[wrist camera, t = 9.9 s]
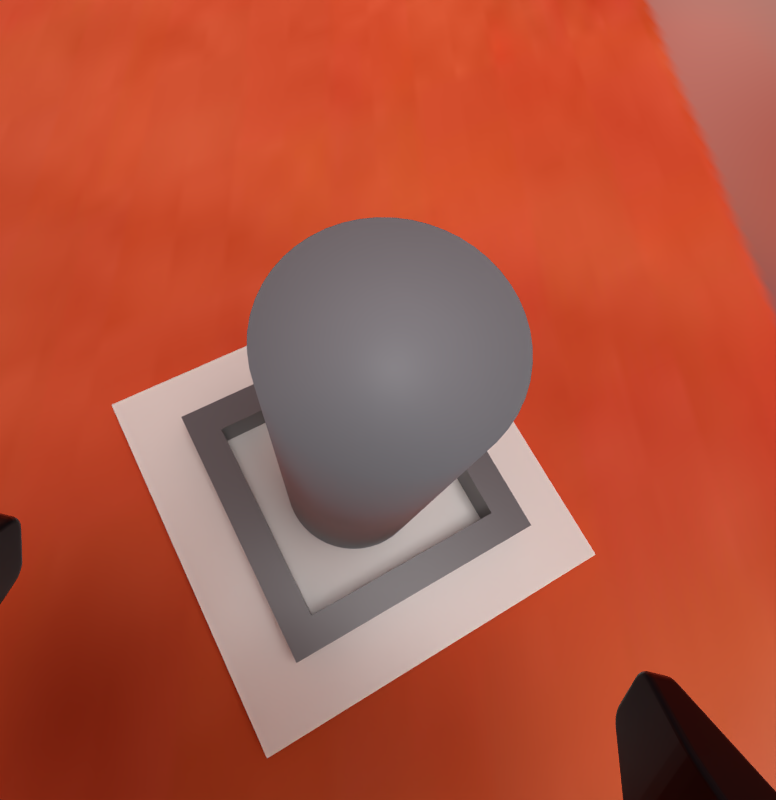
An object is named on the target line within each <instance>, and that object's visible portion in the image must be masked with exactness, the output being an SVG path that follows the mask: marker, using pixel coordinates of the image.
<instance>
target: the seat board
mask: <svg viewBox="0 0 776 800" xmlns="http://www.w3.org/2000/svg"><path fill="white" fill-rule="evenodd" d="M112 407H113V409H114V412H115V414H116V416H117V418H118V421H119V423H120V425H121V428H122V430H123V432H124V434H125V437H126V439H127V441H128V443H129V446H130V448H131V450H132V453H133V455H134V457H135V459H136V462H137V464H138V466H139V468H140V471H141V473H142V475H143V478H144V480H145V482H146V484H147V487H148V489H149V491H150V494H151V496H152V498H153V500H154V503H155V505H156V507H157V509H158V512H159V514H160V516H161V519H162V521H163V523H164V525H165V528H166V530H167V532H168V534H169V537H170V539H171V541H172V544H173V546H174V548H175V550H176V553H177V555H178V557H179V559H180V562H181V564H182V566H183V569H184V571H185V573H186V575H187V578H188V580H189V582H190V585H191V587H192V589H193V591H194V594H195V596H196V598H197V600H198V603H199V605H200V607H201V610H202V612H203V614H204V616H205V619H206V621H207V623H208V625H209V628H210V630H211V632H212V635H213V637H214V639H215V641H216V644H217V646H218V648H219V650H220V653H221V655H222V657H223V660H224V662H225V664H226V666H227V669H228V671H229V673H230V676H231V678H232V680H233V682H234V685H235V687H236V689H237V691H238V694H239V696H240V698H241V701H242V703H243V705H244V707H245V710H246V712H247V714H248V716H249V719H250V721H251V723H252V726H253V728H254V730H255V732H256V735H257V737H258V739H259V741H260V744H261V746H262V748H263V751H264V753H265V755H266V757H267V758H269V757H270V756H272V755H274V754H275V753H277V752H278V751H280V750H282V749H283V748H285V747H286V746H288V745H290V744H291V743H293V742H295V741H296V740H298V739H299V738H301V737H303V736H304V735H306V734H307V733H309V732H311V731H312V730H314V729H315V728H317V727H319V726H320V725H322V724H323V723H325V722H327V721H328V720H330V719H332V718H333V717H335V716H336V715H338V714H340V713H341V712H343V711H344V710H346V709H348V708H349V707H351V706H352V705H354V704H356V703H357V702H359V701H361V700H362V699H364V698H365V697H367V696H369V695H370V694H372V693H373V692H375V691H377V690H378V689H380V688H381V687H383V686H385V685H386V684H388V683H389V682H391V681H393V680H394V679H396V678H398V677H399V676H401V675H402V674H404V673H406V672H407V671H409V670H410V669H412V668H414V667H415V666H417V665H418V664H420V663H422V662H423V661H425V660H426V659H428V658H430V657H431V656H433V655H435V654H436V653H438V652H439V651H441V650H443V649H444V648H446V647H447V646H449V645H451V644H452V643H454V642H455V641H457V640H459V639H460V638H462V637H464V636H465V635H467V634H468V633H470V632H472V631H473V630H475V629H476V628H478V627H480V626H481V625H483V624H484V623H486V622H488V621H489V620H491V619H492V618H494V617H496V616H497V615H499V614H501V613H502V612H504V611H505V610H507V609H509V608H510V607H512V606H513V605H515V604H517V603H518V602H520V601H521V600H523V599H525V598H526V597H528V596H529V595H531V594H533V593H534V592H536V591H538V590H539V589H541V588H542V587H544V586H546V585H547V584H549V583H550V582H552V581H554V580H555V579H557V578H558V577H560V576H562V575H563V574H565V573H567V572H568V571H570V570H571V569H573V568H575V567H576V566H578V565H579V564H581V563H583V562H584V561H586V560H587V559H589V558H591V557H592V556H594V555H595V553H594V551H593V550H592V548H591V546H590V545H589V543H588V542H587V540H586V538H585V537H584V535H583V533H582V532H581V530H580V529H579V527H578V525H577V524H576V522H575V521H574V519H573V517H572V516H571V514H570V512H569V511H568V509H567V508H566V506H565V504H564V503H563V501H562V500H561V498H560V496H559V495H558V493H557V491H556V490H555V488H554V487H553V485H552V483H551V482H550V480H549V479H548V477H547V475H546V474H545V472H544V470H543V469H542V467H541V466H540V464H539V462H538V461H537V459H536V458H535V456H534V454H533V453H532V451H531V449H530V448H529V446H528V445H527V443H526V441H525V440H524V438H523V437H522V435H521V433H520V432H519V430H518V428H517V427H516V425H515V424H514V422H513V423H512V424H511V426H510V427H509V429H508V430H507V431H506V432H505V433H504V435H503V436H502V437H501V438H500V439H499V440H498V442H497V443H496V444H494V445H493V446H492V447H491V448H490V449H489V450H488V451H487V452H486V453H484V454H483V455H482V456H481V457H480V458H479V459H478V460H477V461H476V462H475V463H473V464H472V465H471V466H470V467H469V468H468V469H467V470H466V471H465V472H463V473H462V474H461V475H460V476H459V477H458V478H457V479H456V480H455V481H454V482H452V483H451V484H450V485H449V486H448V487H447V488H446V489H445V490H444V491H442V492H441V493H440V494H439V495H438V496H437V497H436V498H435V499H434V500H433V501H431V502H430V503H429V504H428V505H427V506H426V507H425V508H424V509H423V510H421V511H420V512H419V513H418V514H417V515H416V516H415V517H414V518H413V519H412V520H410V521H409V522H408V523H407V524H406V525H405V526H404V527H403V528H402V529H400V530H399V531H398V532H397V533H396V534H395V535H394V536H392V537H391V538H389V539H388V540H386V541H384V542H382V543H380V544H377V545H374V546H371V547H366V548H360V549H348V548H341V547H336V546H333V545H330V544H327V543H325V542H323V541H321V540H320V539H318V538H316V537H315V536H314V535H312V534H311V533H310V532H309V531H308V530H307V529H306V528H305V527H304V526H303V525H302V524H301V522H300V521H299V520H298V518H297V516H296V515H295V513H294V511H293V509H292V506H291V504H290V500H289V497H288V494H287V491H286V487H285V484H284V481H283V478H282V475H281V471H280V468H279V465H278V462H277V458H276V455H275V452H274V449H273V445H272V442H271V439H270V436H269V433H268V429H267V426H266V423H265V420H264V416H263V413H262V410H261V407H260V403H259V400H258V397H257V394H256V391H255V387H254V384H253V380H252V377H251V373H250V369H249V363H248V355H247V346H245V347H243V348H241V349H239V350H236V351H234V352H232V353H229V354H227V355H225V356H223V357H220V358H218V359H216V360H213V361H211V362H209V363H206V364H204V365H202V366H200V367H197V368H195V369H193V370H190V371H188V372H186V373H184V374H181V375H179V376H177V377H174V378H172V379H170V380H167V381H165V382H163V383H161V384H158V385H156V386H154V387H151V388H149V389H147V390H145V391H142V392H140V393H138V394H135V395H133V396H131V397H128V398H126V399H124V400H122V401H119V402H117V403H115V404H112Z"/></svg>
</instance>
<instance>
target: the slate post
mask: <svg viewBox="0 0 776 800" xmlns="http://www.w3.org/2000/svg"><path fill="white" fill-rule="evenodd" d="M247 355H248V363H249V369H250V373H251V377H252V380H253V384H254V387H255V391H256V394H257V397H258V400H259V403H260V407H261V410H262V413H263V416H264V420H265V423H266V426H267V429H268V433H269V436H270V439H271V442H272V445H273V449H274V452H275V455H276V458H277V462H278V465H279V468H280V471H281V475H282V478H283V481H284V484H285V487H286V491H287V494H288V497H289V500H290V504H291V506H292V509H293V511H294V513H295V515H296V516H297V518H298V520H299V521H300V522H301V524H302V525H303V526H304V527H305V528H306V529H307V530H308V531H309V532H310V533H311V534H312V535H314V536H315V537H316V538H318V539H320V540H321V541H323V542H325V543H327V544H330V545H333V546H336V547H341V548H348V549H360V548H366V547H371V546H374V545H377V544H380V543H382V542H384V541H386V540H388V539H389V538H391V537H392V536H394V535H395V534H396V533H397V532H398V531H399V530H400V529H402V528H403V527H404V526H405V525H406V524H407V523H408V522H409V521H410V520H412V519H413V518H414V517H415V516H416V515H417V514H418V513H419V512H420V511H421V510H423V509H424V508H425V507H426V506H427V505H428V504H429V503H430V502H431V501H433V500H434V499H435V498H436V497H437V496H438V495H439V494H440V493H441V492H442V491H444V490H445V489H446V488H447V487H448V486H449V485H450V484H451V483H452V482H454V481H455V480H456V479H457V478H458V477H459V476H460V475H461V474H462V473H463V472H465V471H466V470H467V469H468V468H469V467H470V466H471V465H472V464H473V463H475V462H476V461H477V460H478V459H479V458H480V457H481V456H482V455H483V454H484V453H486V452H487V451H488V450H489V449H490V448H491V447H492V446H493V445H494V444H496V443H497V442H498V440H499V439H500V438H501V437H502V436H503V435H504V433H505V432H506V431H507V430H508V429H509V427H510V426H511V424H512V423H513V421H514V420H515V418H516V416H517V415H518V413H519V411H520V409H521V406H522V404H523V402H524V400H525V397H526V394H527V391H528V387H529V384H530V379H531V372H532V364H533V362H532V341H531V333H530V328H529V325H528V321H527V318H526V314H525V312H524V310H523V307H522V305H521V302H520V300H519V298H518V296H517V295H516V293H515V291H514V289H513V288H512V286H511V284H510V283H509V282H508V280H507V279H506V278H505V276H504V275H503V274H502V272H501V271H500V270H499V269H498V268H497V267H496V266H495V265H494V264H493V263H492V262H491V261H490V260H489V259H488V258H487V257H486V256H485V255H484V254H482V253H481V252H480V251H479V250H478V249H476V248H475V247H474V246H472V245H471V244H469V243H467V242H466V241H464V240H463V239H461V238H460V237H458V236H456V235H454V234H452V233H450V232H448V231H445V230H443V229H440V228H438V227H435V226H432V225H429V224H426V223H422V222H418V221H413V220H408V219H400V218H378V217H376V218H366V219H358V220H353V221H349V222H344V223H341V224H338V225H335V226H332V227H329V228H326V229H324V230H322V231H320V232H318V233H316V234H314V235H312V236H310V237H308V238H307V239H305V240H304V241H302V242H301V243H299V244H298V245H296V246H295V247H294V248H293V249H292V250H290V251H289V252H288V253H287V254H286V255H285V256H283V258H282V259H281V260H280V261H279V262H278V263H277V264H276V265H275V267H274V268H273V269H272V270H271V272H270V273H269V275H268V276H267V278H266V279H265V281H264V282H263V284H262V286H261V288H260V290H259V292H258V294H257V296H256V298H255V301H254V304H253V307H252V310H251V314H250V318H249V324H248V330H247Z"/></svg>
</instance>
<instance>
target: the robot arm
mask: <svg viewBox="0 0 776 800" xmlns="http://www.w3.org/2000/svg"><path fill="white" fill-rule="evenodd" d="M21 566H22V540H21V524H20V522H19V520H18V519H17V518H15V517H12V516H8V515H4V514H0V604H1V602H2V601H3V599H4V598H5V596H6V595H7V593H8V592H9V590H10V589H11V587H12V586H13V584H14V583H15V581H16V579H17V578H18V575H19V573H20V570H21ZM616 734H617V744H618V753H619V763H620V773H621V783H622V793H623V800H776V791H775V790H774V789H773V788H772V787H771V786H770V785H769V784H768V782H767V781H766V780H765V779H764V778H763V777H762V776H761V775H760V774H759V773H758V771H757V770H756V769H755V768H754V767H753V766H752V765H751V764H750V763H749V762H748V761H747V759H746V758H745V757H744V756H743V755H742V754H741V753H740V752H739V751H738V750H737V748H736V747H735V746H734V745H733V744H732V743H731V742H730V741H729V740H728V739H727V737H726V736H725V735H724V734H723V733H722V732H721V731H720V730H719V729H718V728H717V726H716V725H715V724H714V723H713V722H712V721H711V720H710V719H709V718H708V717H707V715H706V714H705V713H704V712H703V711H702V710H701V709H700V708H699V707H698V706H697V704H696V703H695V702H694V701H693V700H692V699H691V698H690V697H689V696H688V695H687V694H686V692H685V691H684V690H683V689H682V688H681V687H680V686H679V685H678V684H677V683H676V682H675V681H674V680H673V679H672V678H670V677H668V676H664V675H660V674H656V673H652V672H648V671H643V672H641V673H639V674H638V675H637V677H636V678H635V680H634V682H633V683H632V685H631V687H630V688H629V690H628V692H627V693H626V695H625V697H624V698H623V700H622V702H621V703H620V705H619V707H618V710H617V714H616Z"/></svg>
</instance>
